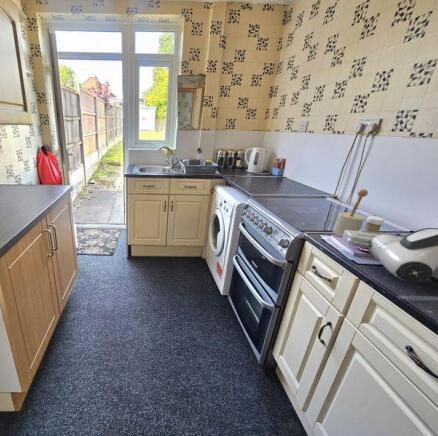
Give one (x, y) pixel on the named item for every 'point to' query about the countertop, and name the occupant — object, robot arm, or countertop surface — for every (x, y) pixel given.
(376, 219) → the sprinkles bottle
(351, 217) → the utensil crock
